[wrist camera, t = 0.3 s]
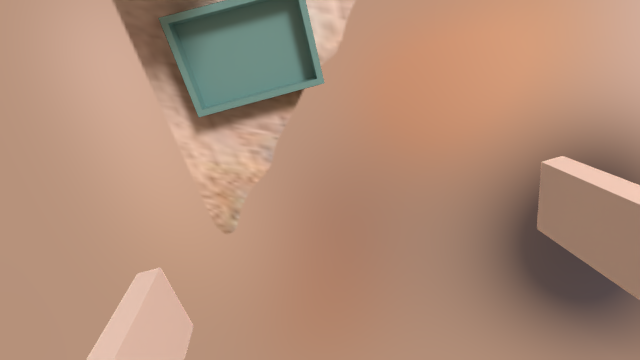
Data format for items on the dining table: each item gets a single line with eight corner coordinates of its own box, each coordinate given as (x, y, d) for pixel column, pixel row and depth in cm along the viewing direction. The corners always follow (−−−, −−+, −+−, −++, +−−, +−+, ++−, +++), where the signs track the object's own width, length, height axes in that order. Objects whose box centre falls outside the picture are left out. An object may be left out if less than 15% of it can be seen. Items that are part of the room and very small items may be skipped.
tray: (166, 20, 30) (158, 17, 28) (298, -15, 31) (300, -20, 29) (203, 112, 34) (198, 117, 32) (321, 80, 35) (324, 83, 32)
